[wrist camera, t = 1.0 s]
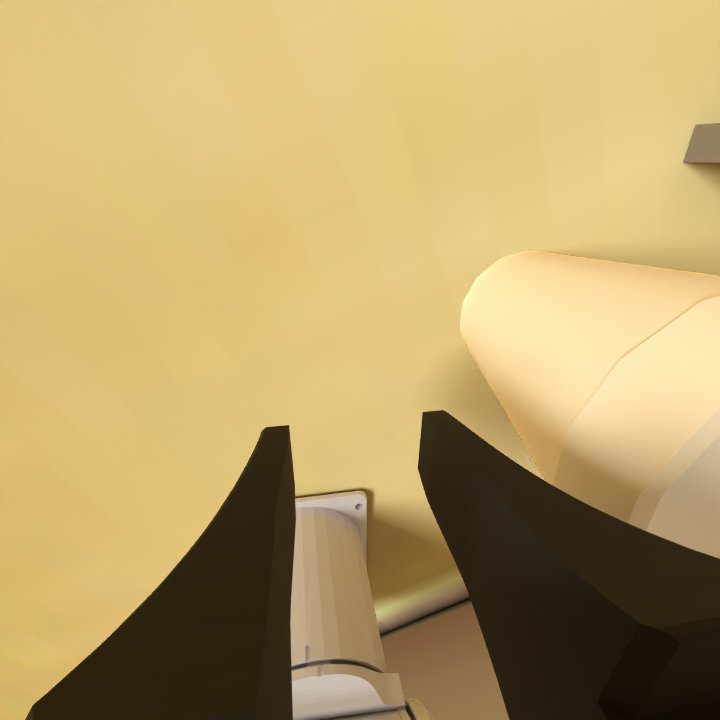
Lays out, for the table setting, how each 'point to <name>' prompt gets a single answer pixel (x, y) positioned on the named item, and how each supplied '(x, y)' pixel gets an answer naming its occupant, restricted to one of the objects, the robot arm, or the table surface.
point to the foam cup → (609, 383)
